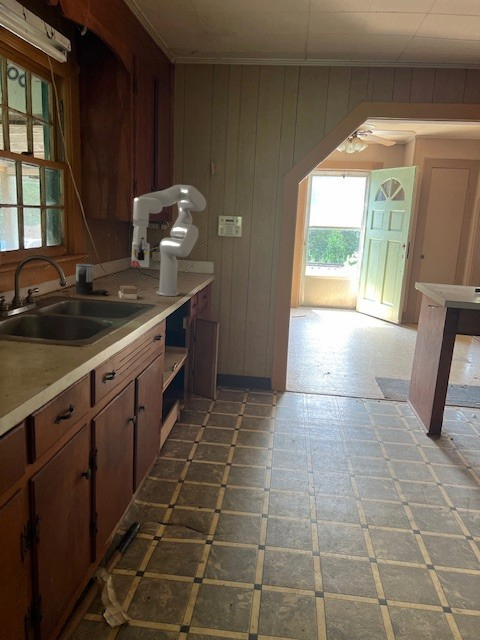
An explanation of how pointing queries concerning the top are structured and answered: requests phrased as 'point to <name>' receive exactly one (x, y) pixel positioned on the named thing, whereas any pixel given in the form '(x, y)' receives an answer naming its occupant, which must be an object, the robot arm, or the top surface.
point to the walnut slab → (128, 290)
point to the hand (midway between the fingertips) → (139, 259)
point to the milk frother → (85, 279)
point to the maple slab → (127, 296)
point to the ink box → (135, 256)
